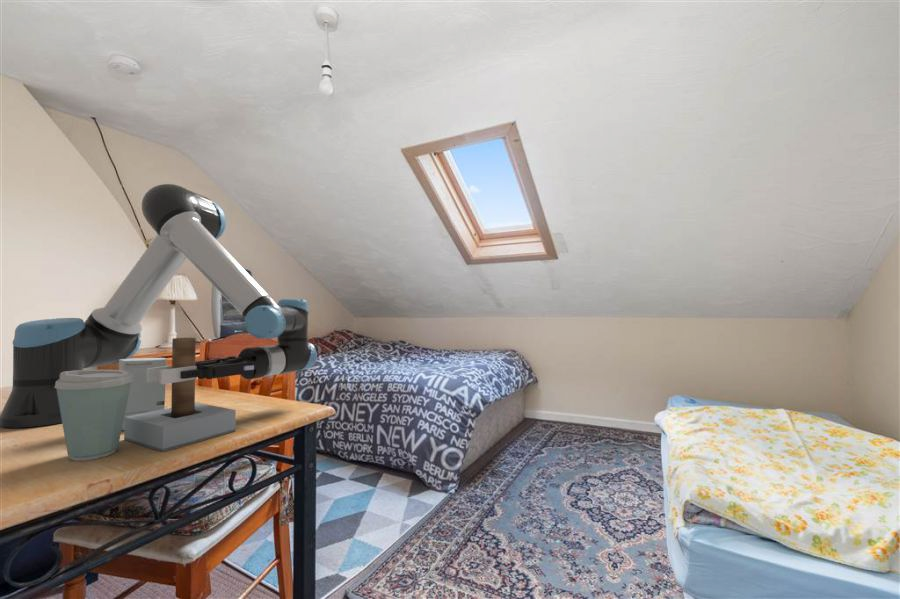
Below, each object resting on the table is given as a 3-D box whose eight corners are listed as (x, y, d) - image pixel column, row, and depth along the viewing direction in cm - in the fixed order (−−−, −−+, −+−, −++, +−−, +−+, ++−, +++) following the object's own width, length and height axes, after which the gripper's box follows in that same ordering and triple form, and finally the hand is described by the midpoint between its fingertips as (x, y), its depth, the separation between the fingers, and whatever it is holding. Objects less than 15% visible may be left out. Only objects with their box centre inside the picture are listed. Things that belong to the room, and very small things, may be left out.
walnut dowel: (167, 417, 82) (168, 338, 82) (187, 412, 85) (188, 337, 86) (178, 419, 80) (179, 339, 80) (198, 415, 83) (199, 338, 84)
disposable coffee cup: (124, 441, 79) (126, 364, 79) (139, 453, 72) (141, 369, 72) (48, 456, 71) (50, 370, 71) (57, 472, 64) (60, 377, 64)
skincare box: (118, 431, 85) (120, 361, 85) (114, 425, 89) (116, 358, 89) (166, 423, 91) (167, 357, 91) (160, 418, 95) (162, 355, 95)
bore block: (124, 439, 79) (124, 417, 80) (196, 422, 92) (196, 402, 92) (162, 451, 73) (163, 427, 73) (235, 431, 85) (235, 410, 85)
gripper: (284, 380, 94) (178, 400, 74) (238, 374, 102) (131, 391, 82) (284, 348, 95) (179, 359, 74) (238, 345, 103) (131, 354, 82)
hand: (154, 376), depth 78 cm, fingers closed on walnut dowel, 4 cm apart
